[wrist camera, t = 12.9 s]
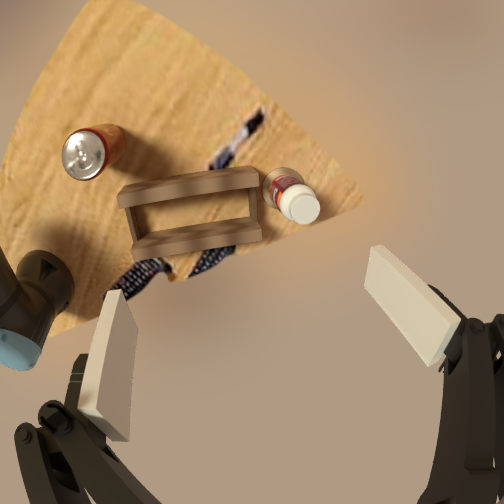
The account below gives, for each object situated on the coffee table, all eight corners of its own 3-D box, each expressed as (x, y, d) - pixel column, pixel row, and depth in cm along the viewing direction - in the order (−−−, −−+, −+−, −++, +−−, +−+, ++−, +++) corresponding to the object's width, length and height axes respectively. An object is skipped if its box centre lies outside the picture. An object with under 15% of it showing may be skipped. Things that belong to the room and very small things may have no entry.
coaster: (262, 211, 52) (263, 212, 51) (260, 169, 48) (261, 170, 47) (302, 205, 53) (304, 206, 52) (302, 166, 49) (303, 166, 48)
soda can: (130, 159, 42) (111, 175, 32) (92, 168, 41) (66, 187, 31) (123, 118, 38) (102, 122, 28) (85, 129, 37) (55, 137, 27)
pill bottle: (262, 180, 48) (280, 199, 39) (293, 168, 48) (318, 183, 39) (273, 210, 51) (293, 235, 42) (303, 197, 51) (328, 219, 42)
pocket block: (138, 245, 50) (134, 261, 45) (124, 185, 44) (116, 195, 39) (254, 226, 53) (262, 240, 48) (250, 165, 47) (258, 172, 42)
